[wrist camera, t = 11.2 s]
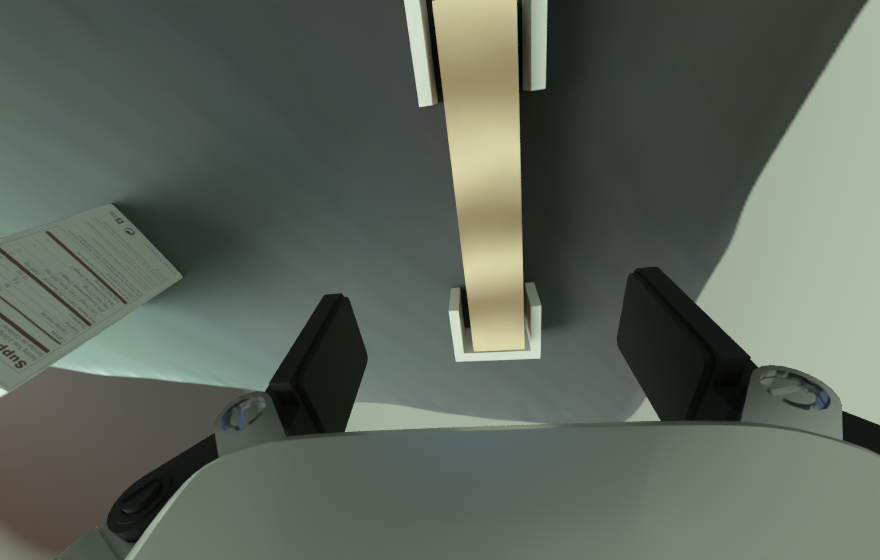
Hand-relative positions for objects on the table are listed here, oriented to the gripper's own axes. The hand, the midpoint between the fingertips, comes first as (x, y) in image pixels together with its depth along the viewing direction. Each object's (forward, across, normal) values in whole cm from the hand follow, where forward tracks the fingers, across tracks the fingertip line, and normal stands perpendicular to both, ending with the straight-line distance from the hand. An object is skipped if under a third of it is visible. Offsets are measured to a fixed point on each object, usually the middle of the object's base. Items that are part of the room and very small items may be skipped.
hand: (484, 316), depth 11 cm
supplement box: (+14, +29, +2) cm, 32 cm away
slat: (+14, -1, 0) cm, 14 cm away
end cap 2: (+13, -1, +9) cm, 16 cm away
